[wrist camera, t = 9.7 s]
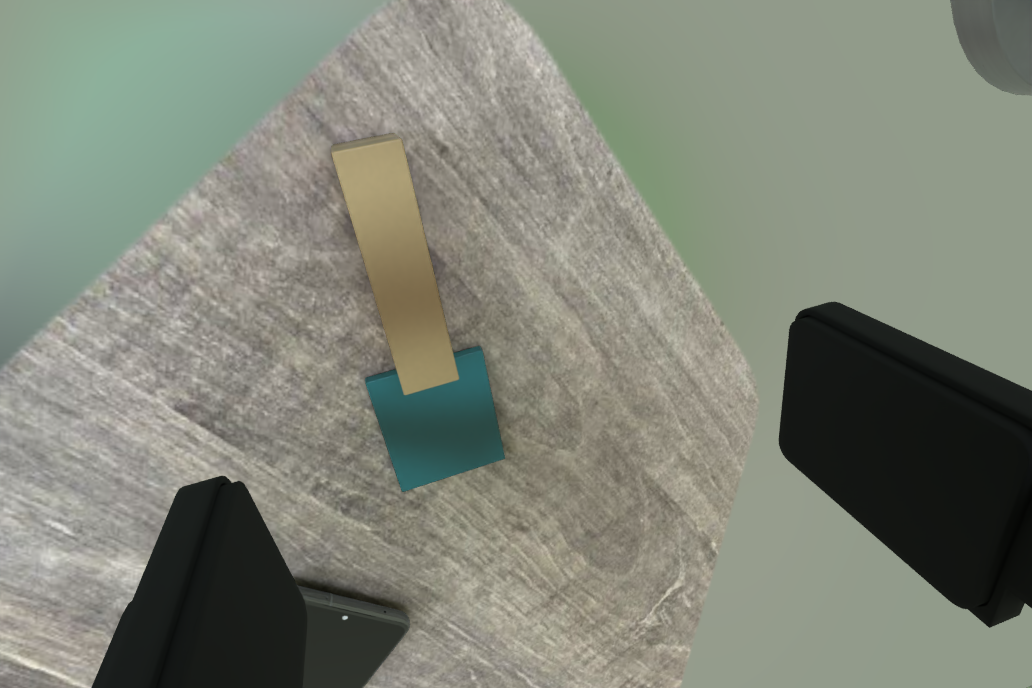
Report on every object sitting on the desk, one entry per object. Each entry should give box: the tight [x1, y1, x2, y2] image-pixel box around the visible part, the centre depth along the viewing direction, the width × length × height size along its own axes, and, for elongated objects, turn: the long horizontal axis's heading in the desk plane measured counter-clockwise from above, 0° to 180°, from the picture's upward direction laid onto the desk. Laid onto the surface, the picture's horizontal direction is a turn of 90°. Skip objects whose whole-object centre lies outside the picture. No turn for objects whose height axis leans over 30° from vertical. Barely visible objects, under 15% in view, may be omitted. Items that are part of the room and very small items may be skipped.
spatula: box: [331, 133, 505, 492], centre depth 21 cm, size 15×5×2 cm, turn 9°
